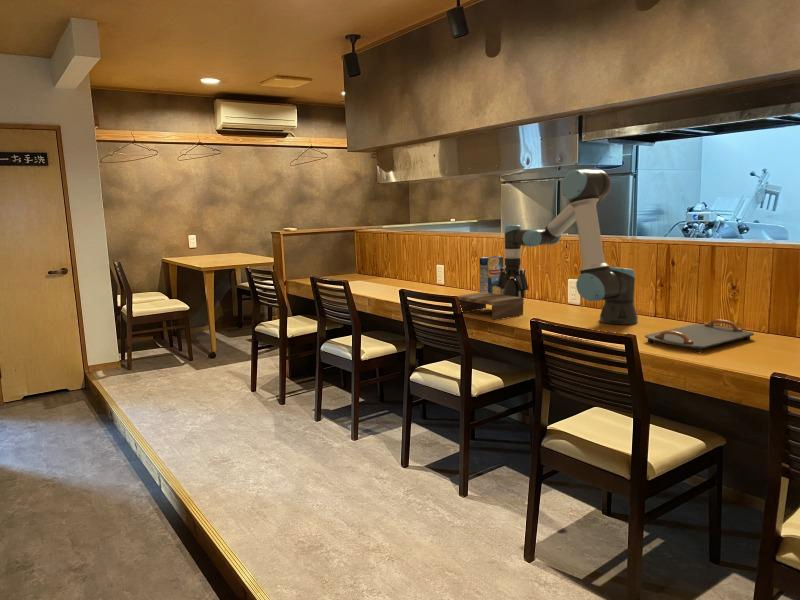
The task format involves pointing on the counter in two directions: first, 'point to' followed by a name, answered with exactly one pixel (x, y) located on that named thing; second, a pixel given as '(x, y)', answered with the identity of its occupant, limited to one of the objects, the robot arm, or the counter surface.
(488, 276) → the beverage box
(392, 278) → the counter surface
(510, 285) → the black rounded dome
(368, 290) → the counter surface
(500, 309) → the walnut shelf
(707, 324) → the serving board
